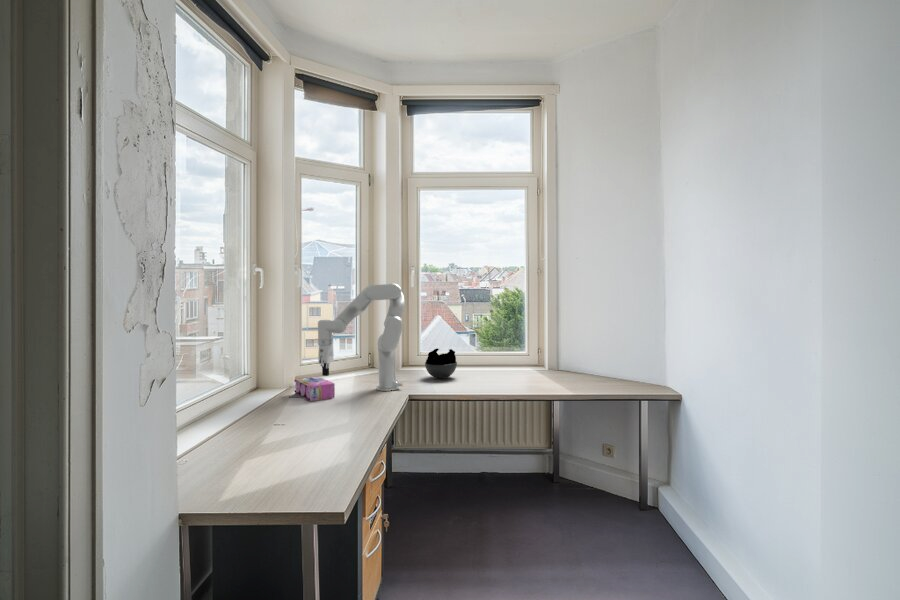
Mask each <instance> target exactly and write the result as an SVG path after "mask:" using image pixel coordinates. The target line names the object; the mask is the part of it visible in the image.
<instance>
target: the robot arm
mask: <svg viewBox="0 0 900 600" xmlns="http://www.w3.org/2000/svg"><path fill="white" fill-rule="evenodd" d="M382 300H383V301H387V300H389V305H388V309H387V311H386V312H387V313H386V316H385V318H384V322H383V325H384V326H383V327H384V328H383V333H382V334H381V335H380V336H378V339H377V354H378V385H376V390H377V391H380V392H381V391H383V392H391V390H392V391H395V390H398V389H399V387H403V386H404V383H403V382H399V381H398V379H396V377H397V375H396V369H397V368H396V349H397V347H398V344H399V341H400V338H401V336H402V332H403V328H404V327H403V325H404V324H403V320H402V318H403V315H404V311H405V304H406V303H405V302H406V301H405V295H404V293H403V292H402V288H401V286H400V285H399V284H397V283H385V284H368V285H367V286H366V287H365V288H363V290H361V291H360V293H358V294H357V296H356V297H355V298H354V299H353V300H352V301H351V302H350V303H349V304H348V305H347V306H346V307H345V308H344V309H343V310H342V311H341V313H339V315H338V316H337V317H335V319H334V320H331V319H320V320H318V321H317V344H318V357H317V359H318V364H319V365H320V367H321V370H322V372H321V373H322V374H321V375H322V376H324V377H325V376H326V377H327V376H330V364H331V363H332V362H333V361H334V349H333V333H335V334H342V333H344V332H345V331H346V329H347V326H348V325H349V324H350V323H351V322H352V321H353V320H354V319H355V318H356V317H358V316H360V315H362V314H363V313H364V311H366V310H367V309H368V308H369V306H371V304H372V303H373V302H374V301H382Z"/></svg>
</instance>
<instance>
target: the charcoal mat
mask: <svg viewBox="0 0 900 600" xmlns="http://www.w3.org/2000/svg"><path fill="white" fill-rule="evenodd" d="M288 398H289V399H290V398H291V399H305V398H304V397H302V396H300V395H297V394H296V393H295V392H294V393H293V394H291V395H289V396H288Z"/></svg>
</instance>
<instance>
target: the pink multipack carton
mask: <svg viewBox="0 0 900 600" xmlns="http://www.w3.org/2000/svg"><path fill="white" fill-rule="evenodd" d="M293 381H294V382H295V385H294V386H295V388H294V394H295V393H296V394H297V395H300V396H302V397H304V398H303V399H305V400H308V401H309V402H313V401H321V400H327V399H328V400H329V399H334V398H335V396H336V395H335V394H336V393H335V390H336V388H335V385H336V384H335V383H334V382H332V381H329V380H328V379H325V378H322V377H321V376H319V375H317V376H311V377H305V378H297V379H294V380H293Z"/></svg>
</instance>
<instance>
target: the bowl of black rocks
mask: <svg viewBox="0 0 900 600" xmlns="http://www.w3.org/2000/svg"><path fill="white" fill-rule="evenodd" d="M439 350H440V348H434V349H433V350H431V351H429V352H428V353H427V358H426V360H425V362H424V367H425V369H426V372H427V373H428V374H429V376H431V377H433V378H434V379H435V378H436V379H440V380H442V379H447V378H449V377H450V376H452V375H453V374H454V373H455V372H456V369H457V366H458V361H457V356H456V354H455V353H456V351H455V350H453V349H452V348H450V349H448V352H446V353H440V354H438V353H437V352H438V351H439Z"/></svg>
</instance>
